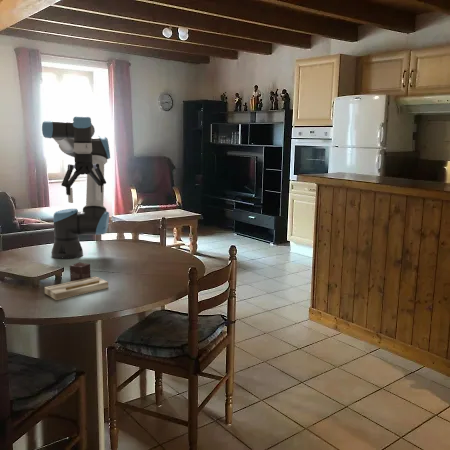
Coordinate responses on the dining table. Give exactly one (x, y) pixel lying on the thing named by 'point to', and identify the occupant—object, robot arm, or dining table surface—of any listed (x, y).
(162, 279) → the dining table surface
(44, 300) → the dining table surface
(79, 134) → the robot arm
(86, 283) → the board
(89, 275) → the box
